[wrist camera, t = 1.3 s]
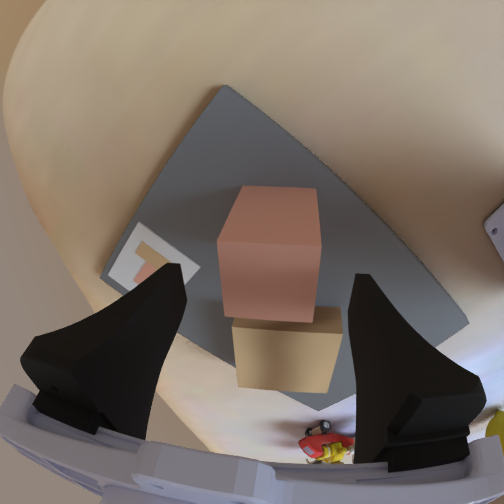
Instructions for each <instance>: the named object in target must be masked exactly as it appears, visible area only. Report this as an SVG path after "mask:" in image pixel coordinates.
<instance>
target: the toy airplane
mask: <svg viewBox="0 0 504 504" xmlns="http://www.w3.org/2000/svg"><path fill="white" fill-rule="evenodd" d="M330 428H331V426H330V423H329V422H328V421H326V420H323V421H321V422H320V426H318V427H316V428H314V429H311V428H308V429H307V430H306V431H305V435H306V437H305V438H303V439H301V440H300V441H299V445H300V447H301V449H302V450H303V451H304V452H305V453H306V454H307V455H308V456H309V457H311V458H315V459H316V460H315V461H313V462H310V463H309V461H308V459H306V461H307V463H308V464H344V463H343V462H340V461H341V460H342V459H343V456H344V455H349V454H353V456H352V457H353V459H352V462H353V460H354V450H355V437H352V438H349V437H345V436H342V435H338V434H334V433H327V431H329V430H330Z"/></svg>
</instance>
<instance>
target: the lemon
mask: <svg viewBox="0 0 504 504" xmlns="http://www.w3.org/2000/svg"><path fill="white" fill-rule="evenodd" d="M493 435H499V439H500V443H501V447H502V451H503V456H504V412H503V411H500V410H498V411H497V412H496V413H495V415H494V417H493V418H492V419H491V420H490V422H489V424H488V426H487V428H486V434H485V437H489V436H493Z"/></svg>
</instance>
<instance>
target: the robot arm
mask: <svg viewBox="0 0 504 504" xmlns="http://www.w3.org/2000/svg"><path fill="white" fill-rule="evenodd" d="M484 228H485V230H486V232H487V234H488V235H489V237H490V239H491V240H492V242H493V244H494V246H495V247H496V249H497V251H498V253H499V255H500V256H501V258H502V260H503V262H504V203H503V204H502V205H501V206H500V207H499V208H498V209H497V210H496V211H495V212H494V213H493V214H492V215H491V216H490V217H489V218H488V219H487V220H486V221H485V224H484ZM494 228H495V230H494V231H493V232H492V230H493V229H494ZM186 304H187V296H186V290H185V285H184V280H183V275H182V269H181V264H180V263H166V264H165V265H163V266H162V267H160V268H159V269H158V270H157V271H155V272H154V273H153V274H151V275H150V276H149V277H148V278H146V279H145V280H144V281H143V282H141V283H140V284H139V285H137V286H136V287H135V288H134V289H132V290H131V291H129V292H128V293H127V294H125V295H124V296H122V297H121V298H120V299H118V300H117V301H115V302H114V303H112V304H111V305H109V306H107V307H106V308H104V309H102V310H100V311H99V312H97V313H95V314H93V315H91V316H89V317H87V318H85V319H83V320H81V321H79V322H77V323H74V324H72V325H70V326H67V327H65V328H62V329H59V330H56V331H54V332H50V333H47V334H43V335H40V336H36V337H34V339H33V340H32V342H31V343H30V345H29V346H28V347H27V349H26V350H25V352H24V353H23V355H22V356H21V358H20V362H21V365H22V367H23V369H24V371H25V372H26V374H27V375H28V376H29V378H30V379H31V380H32V381H33V383H34V384H35V385H36V386H37V388H38V389H39V390H40V391H39V393H38V395H37V396H36V395H35V394H34V393H32V392H31V391H29V390H27V389H25V388H22V387H20V386H18V385H16V384H14V385H13V387H12V388H11V390H10V392H9V393H8V395H7V397H6V398H5V400H4V402H3V403H2V405H1V407H0V437H1V438H3V439H4V440H5V441H6V442H7V443H9V444H10V445H11V446H12V447H13V448H15V449H16V450H17V451H18V452H20V453H21V454H22V455H24V456H26V457H27V458H29V459H31V460H32V461H34V462H36V463H37V464H39V465H41V466H42V467H44V468H46V469H48V470H50V471H51V472H53V473H55V474H57V475H59V476H61V477H62V478H65V479H66V480H68V481H70V482H72V483H74V484H76V485H78V486H80V487H82V488H84V489H87V490H89V491H91V492H93V493H95V494H97V495H100V496H102V499H101V502H100V504H487V503H489V502H491V501H493V500H495V499H497V498H498V497H500V496H502V495H504V456H503V451H502V447H501V443H500V439H499V435H493V436H489V437H485V438H481V439H477V440H474V441H472V442H470V443H468V442H467V437H466V436H468V435H469V434H470V430H469V426H468V425H469V424H470V423H471V422H472V421H473V420H474V419H475V418H476V416H477V415H478V414H479V413H480V412H481V411H482V409H483V408H484V406H485V404H486V401H487V400H486V395H485V392H484V389H483V386H482V383H481V380H480V378H479V377H478V376H477V375H475V374H473V373H471V372H470V371H468V370H466V369H464V368H463V367H461V366H459V365H458V364H456V363H455V362H453V361H452V360H450V359H449V358H447V357H446V356H445V355H443V354H442V353H441V352H439V351H438V350H437V349H436V348H435V347H433V346H432V345H431V344H430V343H429V342H427V341H426V340H425V339H424V338H423V337H422V336H421V335H420V334H419V333H418V332H417V331H416V330H415V329H414V328H413V327H412V326H411V325H410V324H409V323H408V322H407V321H406V320H405V319H404V318H403V316H402V315H401V314H400V313H399V312H398V311H397V309H396V308H395V307H394V306H393V304H392V303H391V302H390V300H389V299H388V298H387V296H386V295H385V294H384V292H383V291H382V290H381V288H380V287H379V286H378V284H377V283H376V281H375V280H374V279H373V277H372V276H371V275H370V274H358V273H355V278H354V283H353V288H352V293H351V298H350V302H349V307H348V333H349V339H350V345H351V352H352V358H353V365H354V371H355V379H356V434H355V450H354V460H353V464H293V463H277V462H265V461H259V460H256V459H250V458H245V457H240V456H233V455H226V454H219V453H213V452H207V451H201V450H195V449H190V448H185V447H180V446H176V445H171V444H167V443H161V442H154V441H146V440H145V438H146V431H147V425H148V420H149V415H150V410H151V406H152V401H153V397H154V393H155V389H156V385H157V382H158V378H159V375H160V372H161V368H162V366H163V363H164V360H165V358H166V356H167V353H168V351H169V349H170V347H171V344H172V342H173V340H174V337H175V335H176V333H177V331H178V328H179V326H180V324H181V321H182V318H183V315H184V312H185V308H186Z"/></svg>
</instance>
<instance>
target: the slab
mask: <svg viewBox="0 0 504 504" xmlns="http://www.w3.org/2000/svg"><path fill="white" fill-rule="evenodd" d="M232 334H233V344H234V353H235V363H236V372H237V381H238V387H244V388H253V389H264V390H276V391H290V392H308V393H327V391H328V388H329V385H330V381H331V378H332V374H333V370H334V367H335V363H336V359H337V355H338V352H339V348H340V344H341V340H342V336H343V329H342V318H341V308H340V307H323V306H315V308H314V315H313V322H312V323H307V322H290V321H274V320H261V319H248V318H236V317H234V320H233V324H232Z"/></svg>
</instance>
